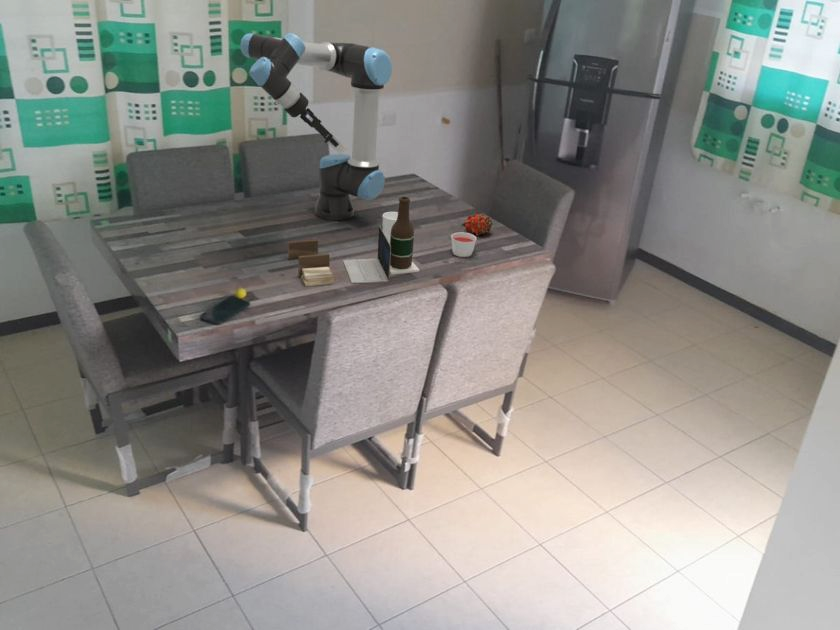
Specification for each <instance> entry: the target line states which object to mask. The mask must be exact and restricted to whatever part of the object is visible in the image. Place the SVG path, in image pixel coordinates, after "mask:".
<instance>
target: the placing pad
mask: <svg viewBox="0 0 840 630" xmlns="http://www.w3.org/2000/svg"><path fill="white" fill-rule="evenodd" d="M419 272H420V269H419V267H418V266H417V265H416V264H415V263H414V262H413V261H412V265H411V266H410V267H409V268H408V269H397V268H393V267H392V266H391V265H390V275H401V274H410V273H419Z"/></svg>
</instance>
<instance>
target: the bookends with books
mask: <svg viewBox="0 0 840 630" xmlns="http://www.w3.org/2000/svg"><path fill="white" fill-rule="evenodd" d="M318 247H319V240H318V239H306V240H305V239H304V240H294V241H293V240H292V241H287V252H288V253H287V254H288V255H287V259H288V260H296V259H297V260H298V261H297V262H298V266H297V267H298V278H301V280H302V282H303V284H304V286H305V287H312V286H313V287H314V286H322V285H329V284H330V285H332V284H334V282H335V281H334V278H335V276H334V274H333V273H332V270H331V269H330V254H329V253H320V254H319V250H318V249H319V248H318Z"/></svg>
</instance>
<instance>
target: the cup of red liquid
mask: <svg viewBox="0 0 840 630" xmlns="http://www.w3.org/2000/svg"><path fill="white" fill-rule="evenodd" d="M450 238H451V248H452V249H451V250H452V254H453V255H454V256H457V257H460V258H466V257H467V258H469V257H470V256H472V255H473V252H474V248H475V246H476V242H477V236H476V235H474V233H473V234H471V233H468V232H465V231H464V232H463V231H462V232H461V231H459V232H455V233H452V234H451V236H450Z"/></svg>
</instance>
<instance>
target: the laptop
mask: <svg viewBox="0 0 840 630" xmlns="http://www.w3.org/2000/svg"><path fill="white" fill-rule="evenodd" d="M377 240H378V242H377V258H357V259H343V260H342V262H343V264H344V267H345V270H346V273H347V275H348V277H349V280H350V283H351V284H382V283H390V282H389V281H390V275H391V274H390V258H391V245H390V243H389V242H388V240H387V238H386V236H385V234H384V232H383V228H382V227H381V225H378V239H377Z"/></svg>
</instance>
